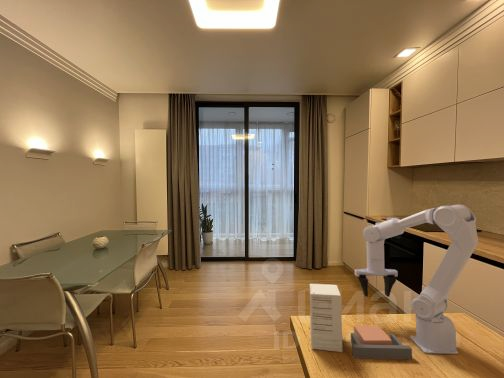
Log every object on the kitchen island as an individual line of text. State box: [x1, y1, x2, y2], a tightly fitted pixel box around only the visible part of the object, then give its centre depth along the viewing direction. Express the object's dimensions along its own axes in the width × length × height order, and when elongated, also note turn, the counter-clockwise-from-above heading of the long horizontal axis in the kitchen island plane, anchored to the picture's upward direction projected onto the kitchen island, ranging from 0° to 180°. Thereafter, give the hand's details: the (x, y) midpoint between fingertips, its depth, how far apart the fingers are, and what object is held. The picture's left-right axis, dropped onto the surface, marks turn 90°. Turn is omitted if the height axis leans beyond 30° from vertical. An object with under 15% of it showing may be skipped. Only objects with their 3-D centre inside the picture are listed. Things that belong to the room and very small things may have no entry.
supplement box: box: [309, 283, 343, 353], centre depth 79 cm, size 10×9×17 cm
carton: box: [353, 325, 392, 345], centre depth 77 cm, size 8×8×4 cm
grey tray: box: [350, 332, 413, 360], centre depth 75 cm, size 16×8×3 cm, turn 86°
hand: (376, 295), depth 91 cm, fingers open, 7 cm apart
